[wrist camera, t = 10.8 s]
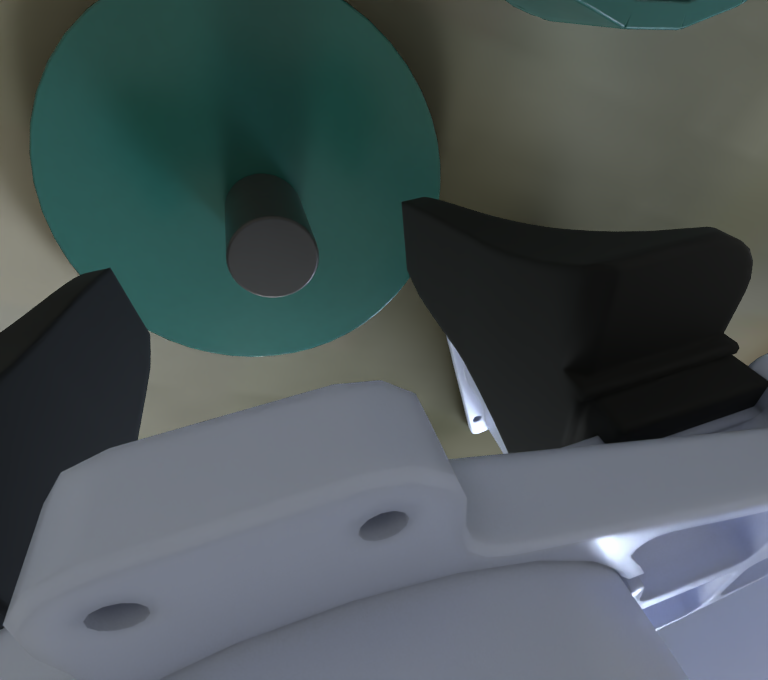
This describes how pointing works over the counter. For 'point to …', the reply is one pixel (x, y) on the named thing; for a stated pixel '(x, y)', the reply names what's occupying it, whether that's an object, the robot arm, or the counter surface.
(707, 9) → the tin
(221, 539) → the robot arm
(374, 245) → the tin lid
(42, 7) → the counter surface
